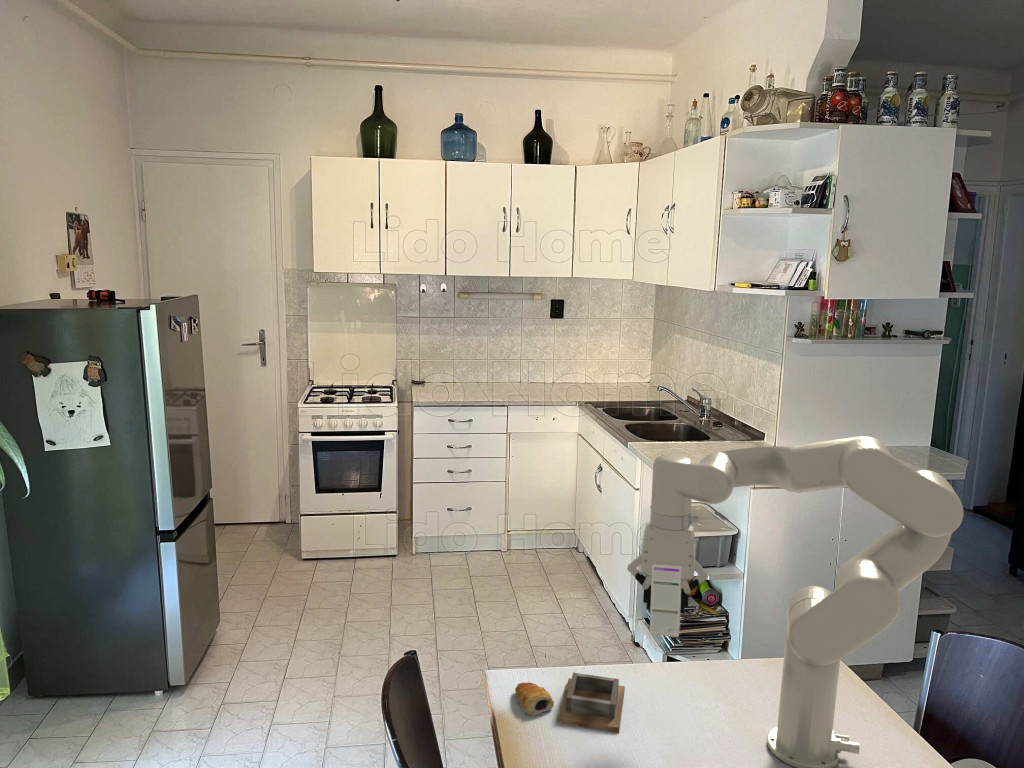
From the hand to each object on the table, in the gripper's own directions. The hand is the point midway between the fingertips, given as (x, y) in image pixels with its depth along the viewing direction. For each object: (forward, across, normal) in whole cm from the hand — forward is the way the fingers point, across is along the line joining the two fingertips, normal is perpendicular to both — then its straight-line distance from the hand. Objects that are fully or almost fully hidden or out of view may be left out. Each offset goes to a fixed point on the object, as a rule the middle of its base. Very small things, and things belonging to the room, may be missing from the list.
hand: (665, 607), depth 147 cm
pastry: (+23, +25, +2) cm, 35 cm away
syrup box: (+5, 0, 0) cm, 5 cm away
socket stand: (+23, +13, 0) cm, 27 cm away
